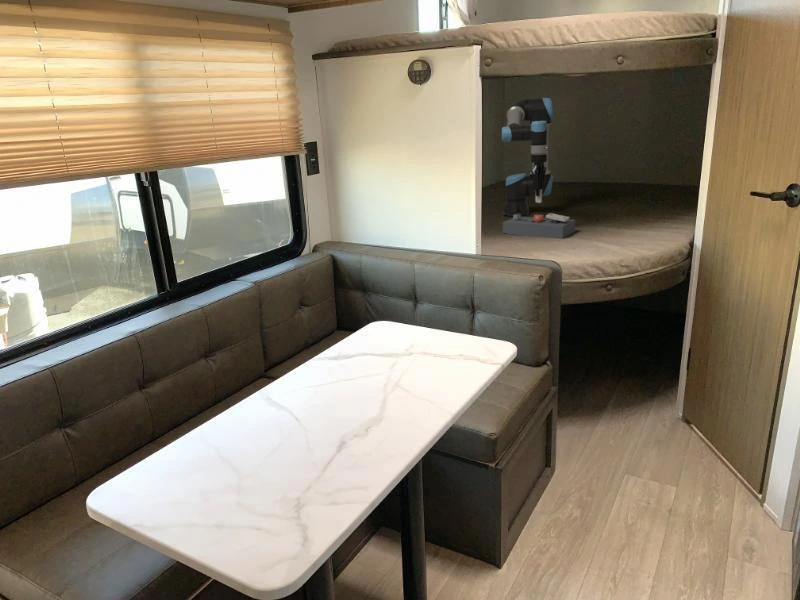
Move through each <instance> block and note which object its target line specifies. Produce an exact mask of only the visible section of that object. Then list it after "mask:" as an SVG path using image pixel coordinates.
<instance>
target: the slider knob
mask: <svg viewBox="0 0 800 600" xmlns="http://www.w3.org/2000/svg"><path fill="white" fill-rule="evenodd" d="M520 217H521V216H520V214H514V215H513V217H512V218H513V220H518V219H520Z"/></svg>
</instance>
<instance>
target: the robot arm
mask: <svg viewBox="0 0 800 600" xmlns="http://www.w3.org/2000/svg"><path fill="white" fill-rule="evenodd" d="M553 109H554V107H553V101H552V99H551V98H550V97H539V98H538V97H537V98H529V99H526V98H525V99H520V100H518V101H516V102H514V103H513V104H512V105H510V106H509V108H508V109H507V112H506V119H507V122H506V126H503V127H502V128H501V141H502V142H505V143H507V142H508V143H511V142H513V143H515V142H528V141H529V142H530V144H531V145H530V154H531V155H530V161H531V164H532V169H531V170H530V172H529V175H527V173H516V174H511V175H509V176H507V177H506V179H505V204H504V207H503V209H502V210H503V211H502V215H503V214H504V215H507V216H506V217H510V216H513V215H514V214H520V217H526V216H528V215H530V209H529V206H528V202H527V197H535V203H538V204H541V203H543V197H544V196H550V195H551V193H552V189H553V181H554V176H553V174H551V173H552V172H551V171H550V170H549V126H551V124H552V121H553V120H554V119H555V117H554V110H553ZM523 122H529V124H526V125H523ZM504 215H503V216H504ZM525 215H526V216H525Z"/></svg>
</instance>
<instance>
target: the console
mask: <svg viewBox="0 0 800 600" xmlns="http://www.w3.org/2000/svg"><path fill="white" fill-rule="evenodd" d="M575 232H576V219H569V220H567V221H565V222H564V221H559V220H554V219H550V218H546V217H543V222H542V223H538V222H534V216H533V217H530V216H528V217H527V216H520V219H518V220H513V217H512V218H509V219H507V220H504V221H503V222H502V234H503V233H507V234H506V235H510V234H515V235H514V236H522V235H523V237H526V236H527V237H534V238H535V237H539V238H551V239H565V238H566V237H568V236H570V235H572V234H573V233H575Z"/></svg>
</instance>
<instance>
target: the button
mask: <svg viewBox="0 0 800 600" xmlns="http://www.w3.org/2000/svg"><path fill="white" fill-rule="evenodd" d="M533 217H534V222H538V223H542V222H543V218H545V216H544V214H540V213H539V214H538V213H537V214H533Z"/></svg>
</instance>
